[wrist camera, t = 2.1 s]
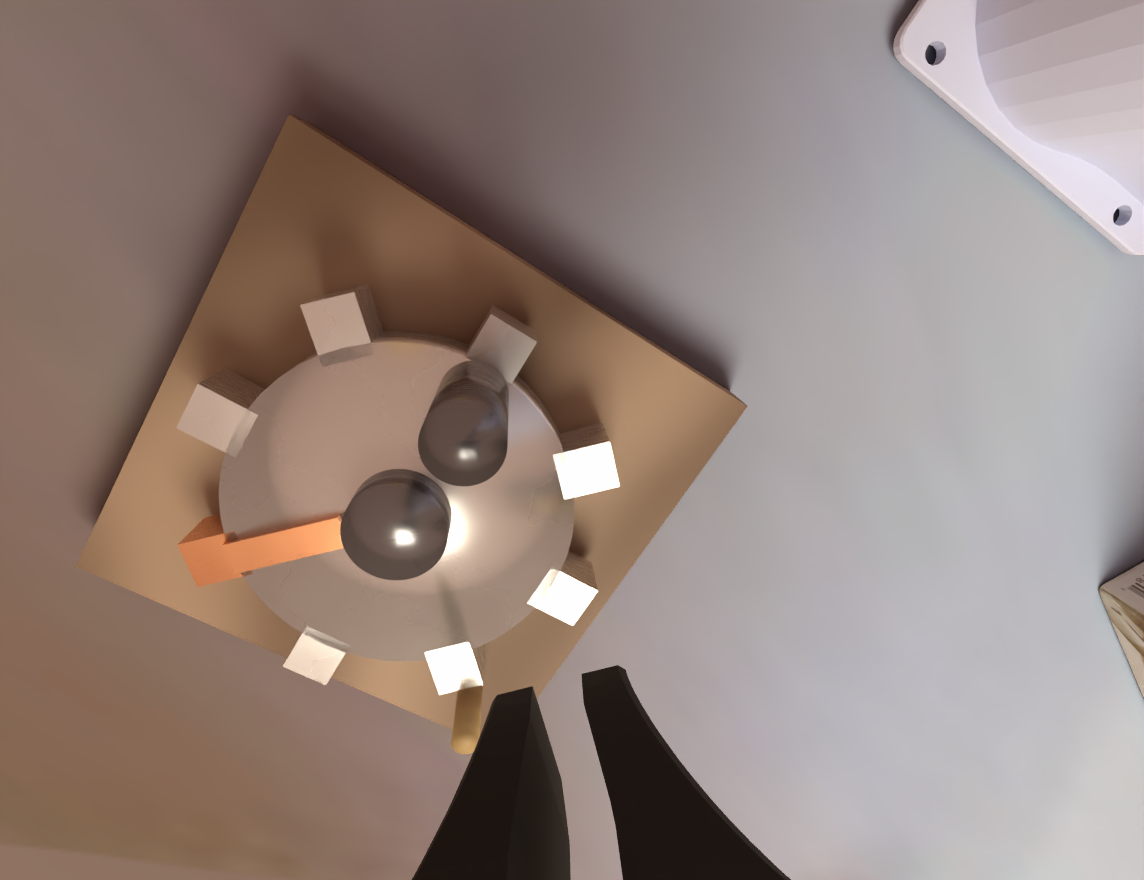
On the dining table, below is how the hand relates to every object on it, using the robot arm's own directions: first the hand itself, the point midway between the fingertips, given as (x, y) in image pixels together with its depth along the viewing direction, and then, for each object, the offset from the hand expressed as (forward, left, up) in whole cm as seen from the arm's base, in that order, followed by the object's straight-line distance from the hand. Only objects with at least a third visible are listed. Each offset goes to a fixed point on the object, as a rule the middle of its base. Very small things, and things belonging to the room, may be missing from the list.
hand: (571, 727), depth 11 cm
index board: (+4, +1, -9) cm, 10 cm away
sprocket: (+4, +1, -8) cm, 8 cm away
